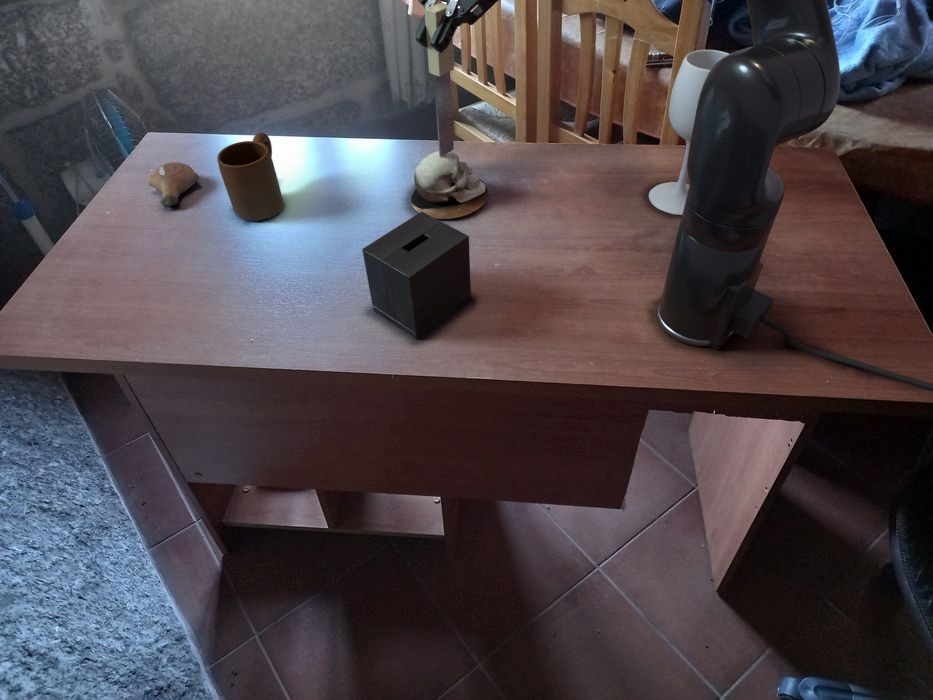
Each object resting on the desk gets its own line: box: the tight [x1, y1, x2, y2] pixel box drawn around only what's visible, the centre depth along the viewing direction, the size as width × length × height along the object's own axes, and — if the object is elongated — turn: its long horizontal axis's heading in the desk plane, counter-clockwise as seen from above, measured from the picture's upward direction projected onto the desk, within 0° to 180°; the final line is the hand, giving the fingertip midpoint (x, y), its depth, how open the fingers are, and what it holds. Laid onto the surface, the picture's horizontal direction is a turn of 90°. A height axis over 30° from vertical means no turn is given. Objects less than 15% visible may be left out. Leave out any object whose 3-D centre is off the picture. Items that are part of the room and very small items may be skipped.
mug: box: [216, 131, 284, 222], centre depth 99 cm, size 12×8×9 cm, turn 171°
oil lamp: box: [147, 161, 200, 208], centre depth 103 cm, size 9×4×8 cm
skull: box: [410, 150, 489, 220], centre depth 100 cm, size 12×10×10 cm
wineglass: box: [648, 49, 730, 216], centre depth 92 cm, size 9×9×21 cm
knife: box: [423, 2, 455, 157], centre depth 88 cm, size 2×3×20 cm
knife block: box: [361, 212, 472, 340], centre depth 81 cm, size 8×10×10 cm
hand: (428, 46), depth 83 cm, fingers closed on knife, 2 cm apart
